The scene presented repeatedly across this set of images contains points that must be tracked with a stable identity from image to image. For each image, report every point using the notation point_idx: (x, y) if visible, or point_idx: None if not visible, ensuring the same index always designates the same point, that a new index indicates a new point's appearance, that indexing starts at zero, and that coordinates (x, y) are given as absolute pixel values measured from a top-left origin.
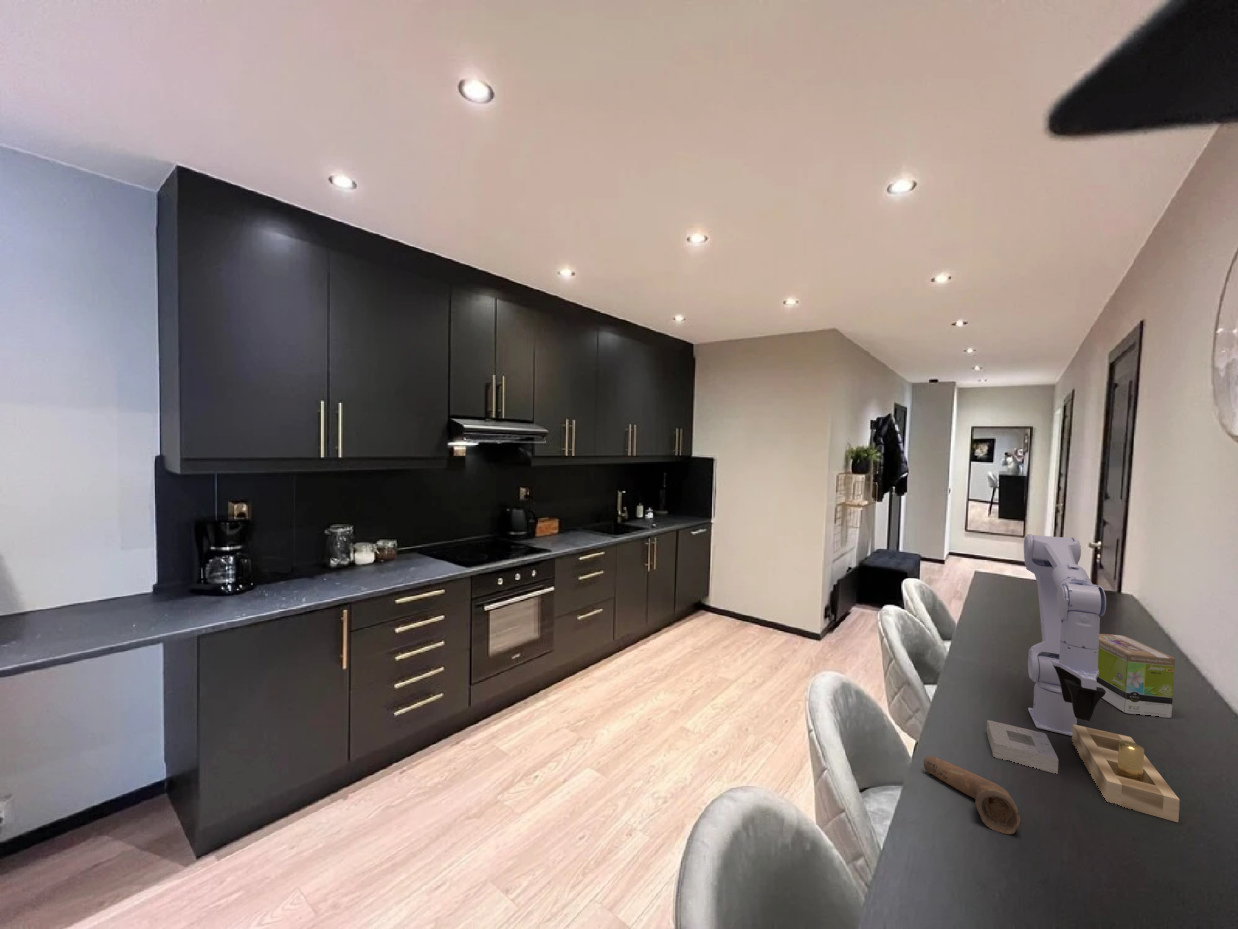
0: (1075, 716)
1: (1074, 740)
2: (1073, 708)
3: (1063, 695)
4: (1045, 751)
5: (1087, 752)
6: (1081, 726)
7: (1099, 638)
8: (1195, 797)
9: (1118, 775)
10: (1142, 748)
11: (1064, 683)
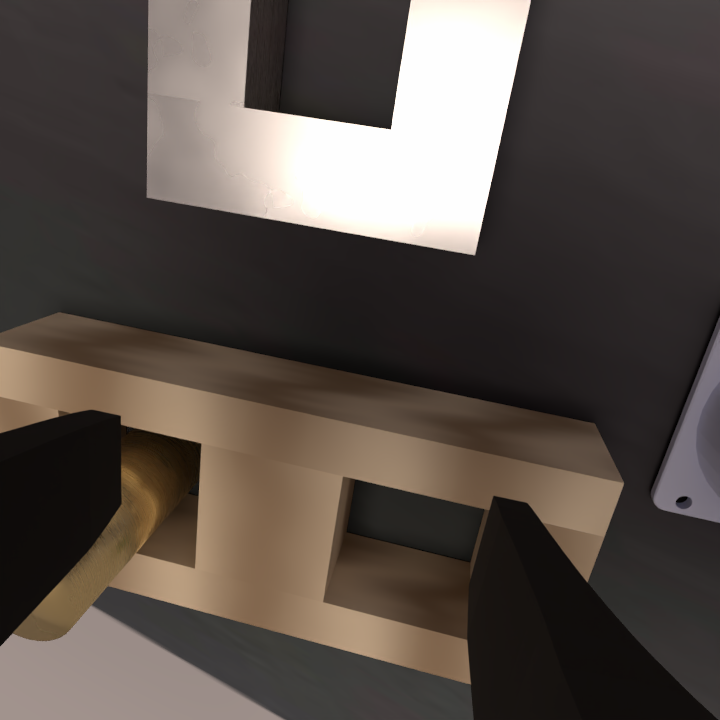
0: (83, 413)
1: (554, 429)
2: (17, 432)
3: (508, 528)
4: (204, 151)
5: (300, 400)
6: (602, 520)
7: None
8: (276, 651)
9: (136, 437)
10: (19, 632)
11: (536, 678)
